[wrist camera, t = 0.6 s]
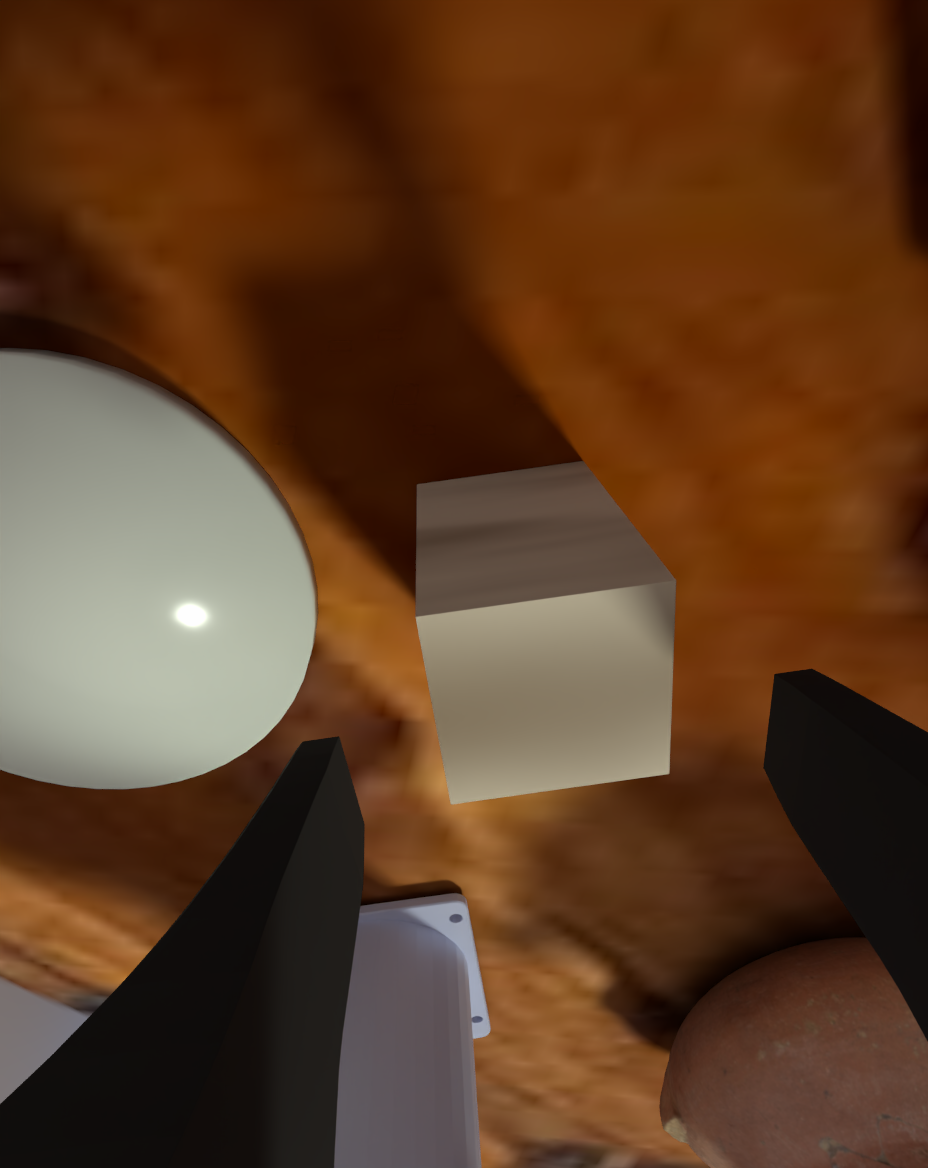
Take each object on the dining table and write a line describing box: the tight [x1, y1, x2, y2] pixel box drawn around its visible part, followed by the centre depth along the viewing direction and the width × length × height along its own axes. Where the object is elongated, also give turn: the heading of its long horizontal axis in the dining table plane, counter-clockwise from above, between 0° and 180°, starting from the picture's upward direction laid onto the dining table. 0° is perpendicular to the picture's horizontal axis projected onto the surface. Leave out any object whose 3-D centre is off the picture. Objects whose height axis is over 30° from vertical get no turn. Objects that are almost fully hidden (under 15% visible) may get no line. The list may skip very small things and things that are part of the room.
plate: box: [0, 348, 318, 789], centre depth 17 cm, size 13×13×1 cm
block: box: [416, 461, 676, 804], centre depth 15 cm, size 4×4×7 cm
